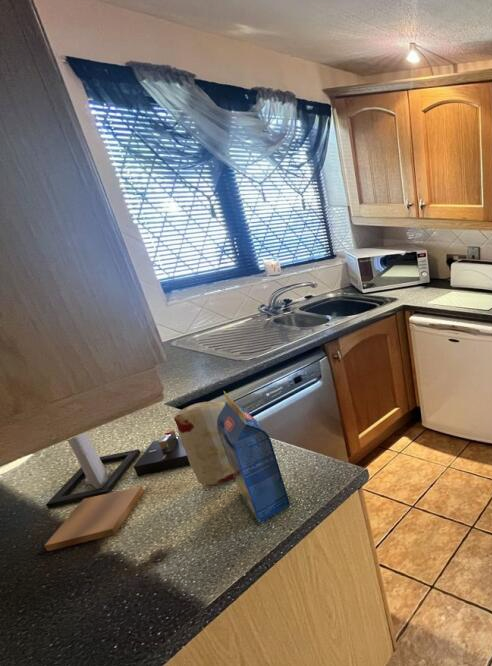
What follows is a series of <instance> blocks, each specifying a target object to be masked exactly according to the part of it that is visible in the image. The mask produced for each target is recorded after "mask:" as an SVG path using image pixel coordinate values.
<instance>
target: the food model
mask: <svg viewBox="0 0 492 666" xmlns="http://www.w3.org/2000/svg"><path fill="white" fill-rule="evenodd" d="M225 404H226V403H225V402H224V401H218V400H217V401H211V402H209V401H202V402H197V403H193V404H191V405H188V406H186V407H184V408H182V409H181V410H180V411H178V412H177V414H175V416H174V417H173V419H174V422H175V425H176V428H177V431H178V432H177V433H178V436H180V440H181V443H182V445H183V448H184V450H185V452H186V454H187V457H188V460H189V463H190V468H191V469H192V471H193V473H194V474H195V477H196V481H197V483H199V484H200V485H208V486H209V485H216V484H223V483H225V482H229V481H232V480H235V478H234V475H233V472H232V469H231V466H230V464H229V461H228V458H227V455H226V452H225V449H224V447H223V444H222V441H221V438H220V435H219V432H218V429H217V419H218V416H219V414H220V412H221V411H222V409H223V408H224V406H225Z"/></svg>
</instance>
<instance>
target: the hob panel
mask: <svg viewBox="0 0 492 666" xmlns="http://www.w3.org/2000/svg"><path fill="white" fill-rule="evenodd" d="M176 437H177V439H178V443H177V444H176V446H175V447H174V449H173V450H172V452H170V453H166V454H163V452H162V450H161V448H160V445H159V443H158V442H159V441H160V439H156V440H152V441H151V443H150V444H149V445H148V447H147V448H146V450H145V451H144V452H143V453H142V455H141V456H140V457H139V459H138V460H137V461H136V462H135V464H134V465H133V470H134V472H135V474H136V476H137V477H138V478H140V477H144V476H148V475H154V474H158V473H162V472H165V471H172V470H175V469H180V468H186V467H189V466H190V467H191V465H190V463H189V460H188V457H187V454H186V452H185V450H184V448H183V445H182V443H181V440H180V436H179V435H176Z"/></svg>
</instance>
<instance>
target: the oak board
mask: <svg viewBox="0 0 492 666" xmlns="http://www.w3.org/2000/svg"><path fill="white" fill-rule="evenodd" d="M144 492H145V490H144V488H143V486H142V485H140V486H135V487H131V488H127V489H122V490H117V491H113V492H112V491H111V492H110V493H108V494H103V495H99V496H95V497H90V498H86V499H83V500H82V501H80V502H79V504H78V505H77V506H76V507H75V508H74V509H73V511H72V512H71V513H70V514H69V516H68V517H67V518H65V520H64V521H63V523H62V524H61V525H60V526H59V527H58V528H57V530H55V532H54V533H53V534H52V536H51V537H50V538H49V539H48V540H47V542H46V543H45V544H44V545H43V547H44V548H45V549H46V551H47V552H51V551H55V550H59V549H63V548H66V547H71V546H75V545H78V544H83V543H87V542H89V541H90V542H91V541H95V540H97V539H102V538H106V537H109V536H115V535H116V534H117V532H118V531H119V529H120V528H121V526H122V525H123V524H124V522H125V521H126V519H127V517H128V516H129V514H130V513H131V511H132V510H133V508H134V507H135V506H136V504H137V502H138V501H139V499H140V498H141V496H142V495H143V493H144Z"/></svg>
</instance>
